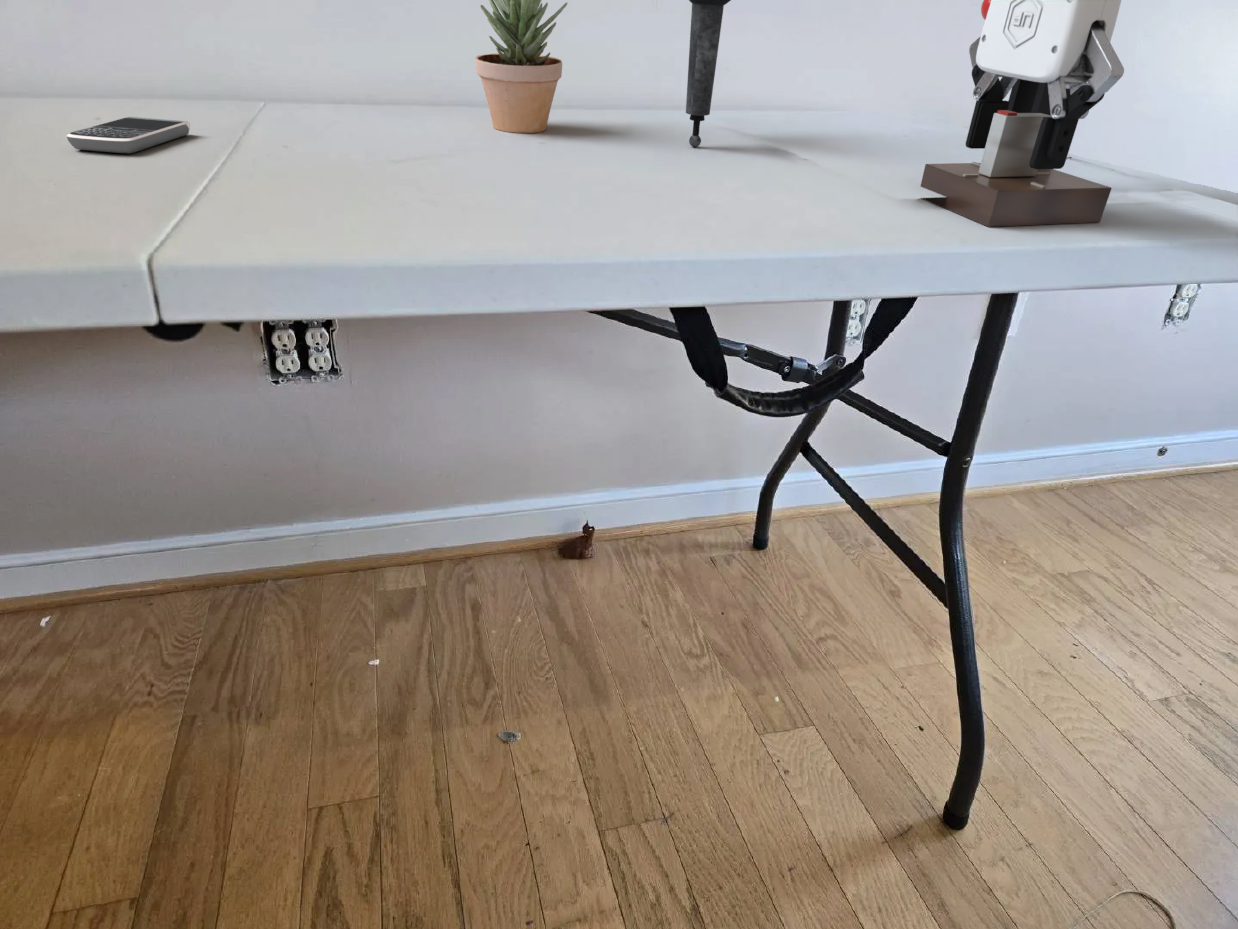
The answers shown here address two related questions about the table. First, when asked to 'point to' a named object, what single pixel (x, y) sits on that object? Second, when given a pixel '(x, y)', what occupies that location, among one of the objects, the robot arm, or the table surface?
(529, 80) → the potted plant
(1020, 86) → the bracket
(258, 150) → the table surface
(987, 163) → the grey block
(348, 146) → the table surface
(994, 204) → the brown flat block
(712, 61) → the dark grey tapered rod
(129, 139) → the cell phone
